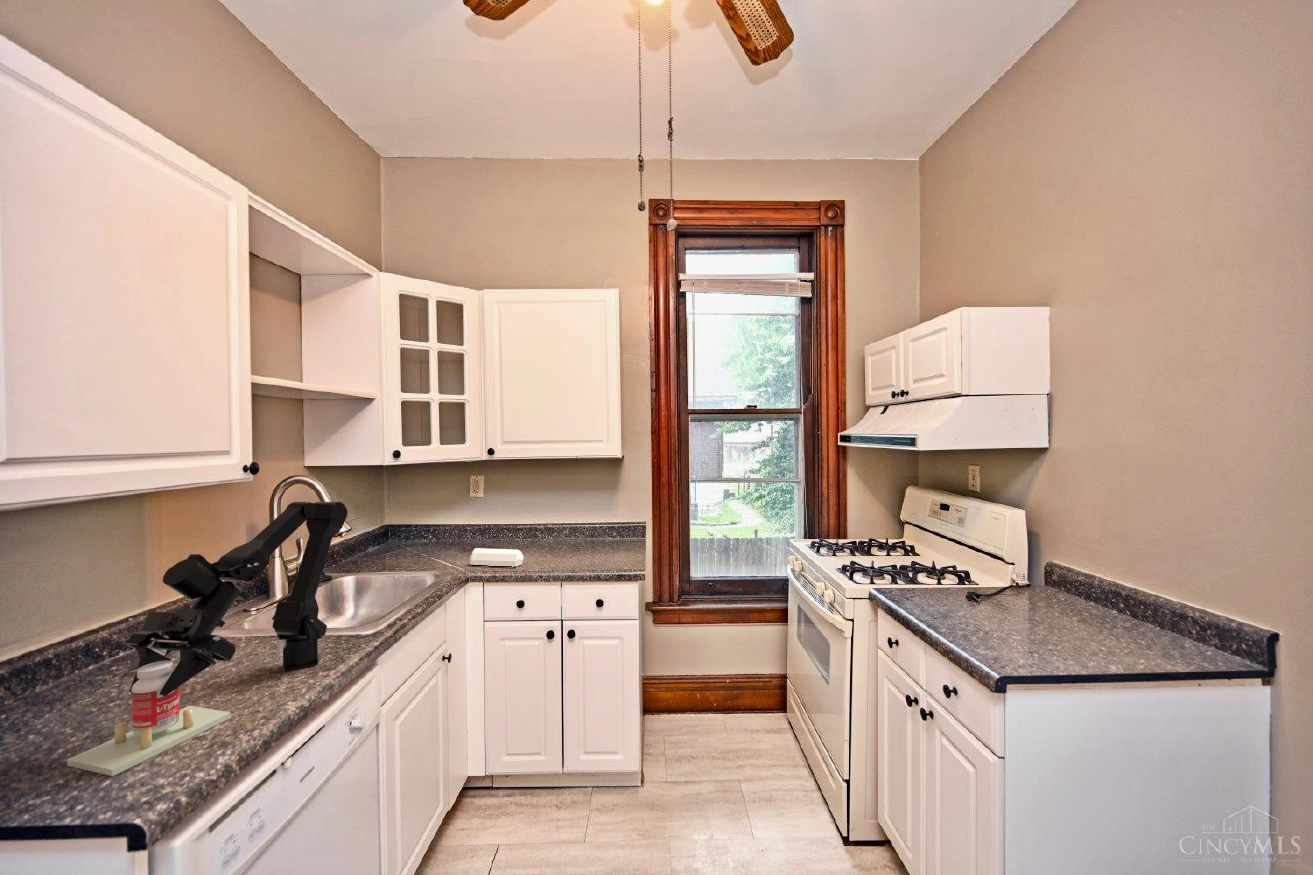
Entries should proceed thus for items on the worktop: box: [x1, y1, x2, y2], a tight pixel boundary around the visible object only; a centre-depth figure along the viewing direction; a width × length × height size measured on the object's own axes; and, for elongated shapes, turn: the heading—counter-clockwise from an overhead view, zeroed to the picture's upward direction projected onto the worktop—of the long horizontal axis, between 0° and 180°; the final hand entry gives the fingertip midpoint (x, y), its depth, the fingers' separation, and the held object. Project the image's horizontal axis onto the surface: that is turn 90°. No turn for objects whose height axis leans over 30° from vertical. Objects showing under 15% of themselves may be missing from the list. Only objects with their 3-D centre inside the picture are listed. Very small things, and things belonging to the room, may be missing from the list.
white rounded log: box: [469, 547, 524, 568], centre depth 220 cm, size 7×7×24 cm
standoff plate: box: [66, 705, 232, 777], centre depth 94 cm, size 18×11×4 cm, turn 164°
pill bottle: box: [131, 660, 180, 735], centre depth 94 cm, size 6×6×11 cm
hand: (147, 693), depth 93 cm, fingers closed on pill bottle, 6 cm apart
